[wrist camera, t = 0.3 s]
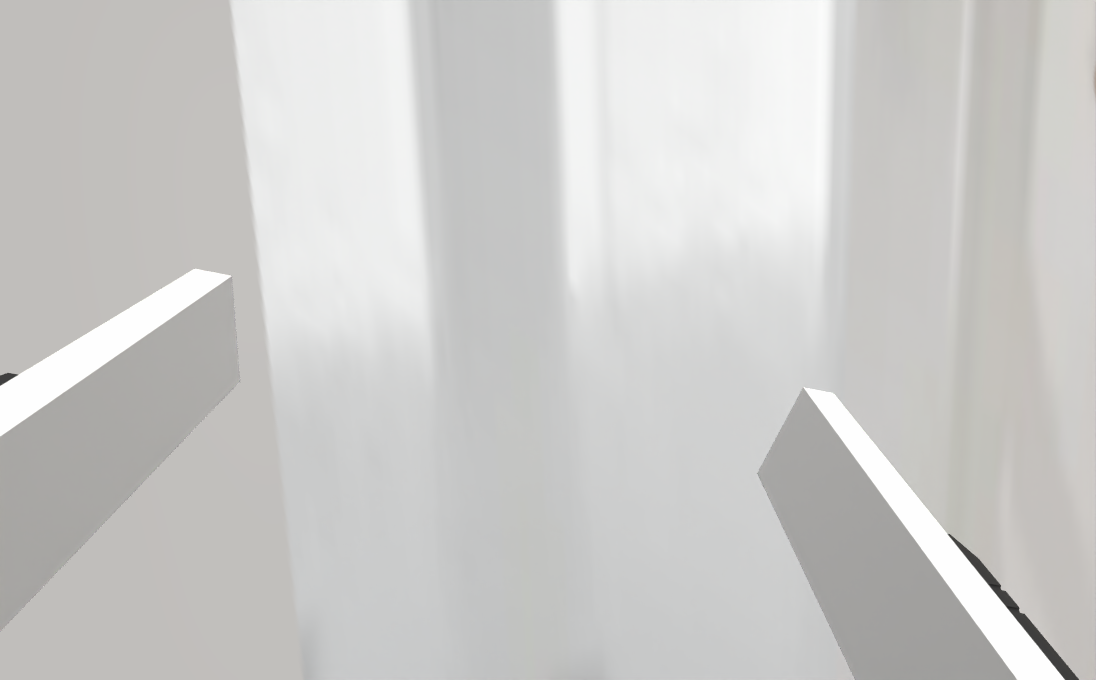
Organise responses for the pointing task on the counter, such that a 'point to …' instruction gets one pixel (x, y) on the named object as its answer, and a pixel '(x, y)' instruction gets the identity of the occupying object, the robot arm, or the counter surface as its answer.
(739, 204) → the counter surface
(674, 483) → the counter surface
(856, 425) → the robot arm
